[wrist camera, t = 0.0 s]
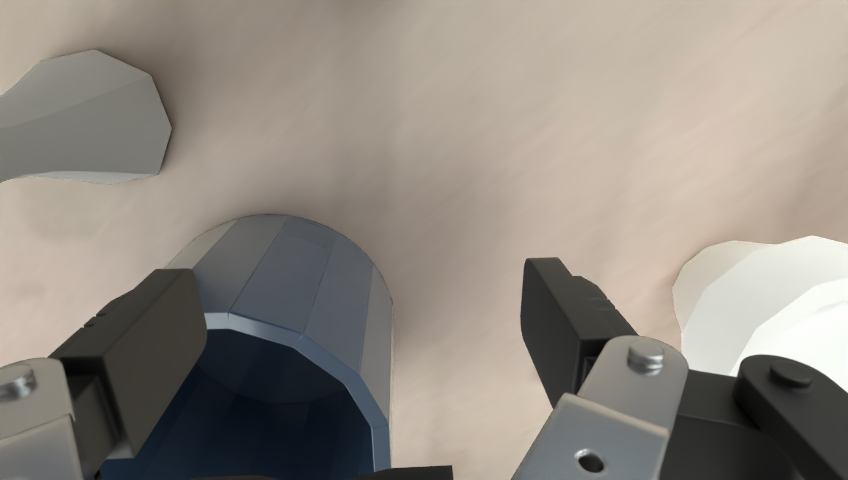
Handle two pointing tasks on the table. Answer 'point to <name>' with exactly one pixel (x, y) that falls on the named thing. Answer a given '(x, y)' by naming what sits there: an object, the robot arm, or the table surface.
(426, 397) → the table surface
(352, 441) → the canister
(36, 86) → the flask
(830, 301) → the potted plant
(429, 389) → the table surface
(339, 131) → the table surface
